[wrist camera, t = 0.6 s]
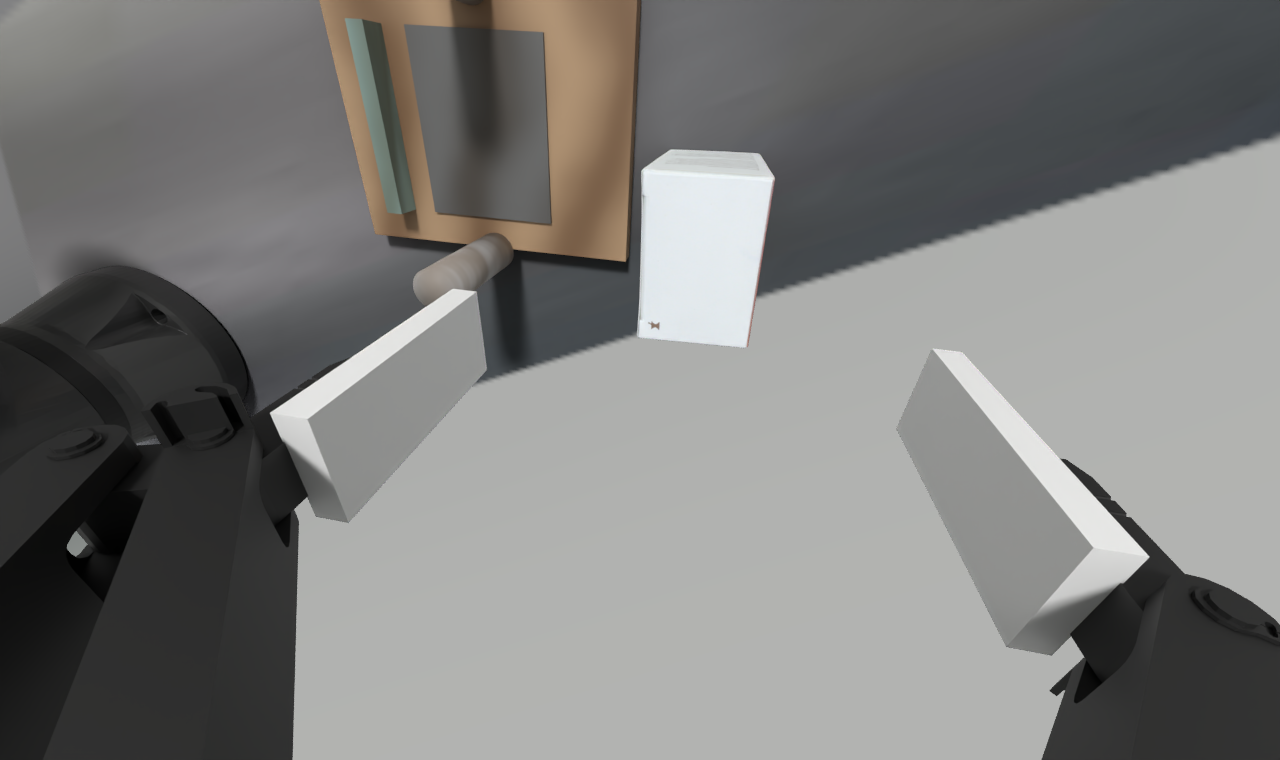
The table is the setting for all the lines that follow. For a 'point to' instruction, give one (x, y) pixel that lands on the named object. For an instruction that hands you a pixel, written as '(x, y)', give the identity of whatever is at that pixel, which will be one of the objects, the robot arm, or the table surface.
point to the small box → (702, 245)
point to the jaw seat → (492, 125)
